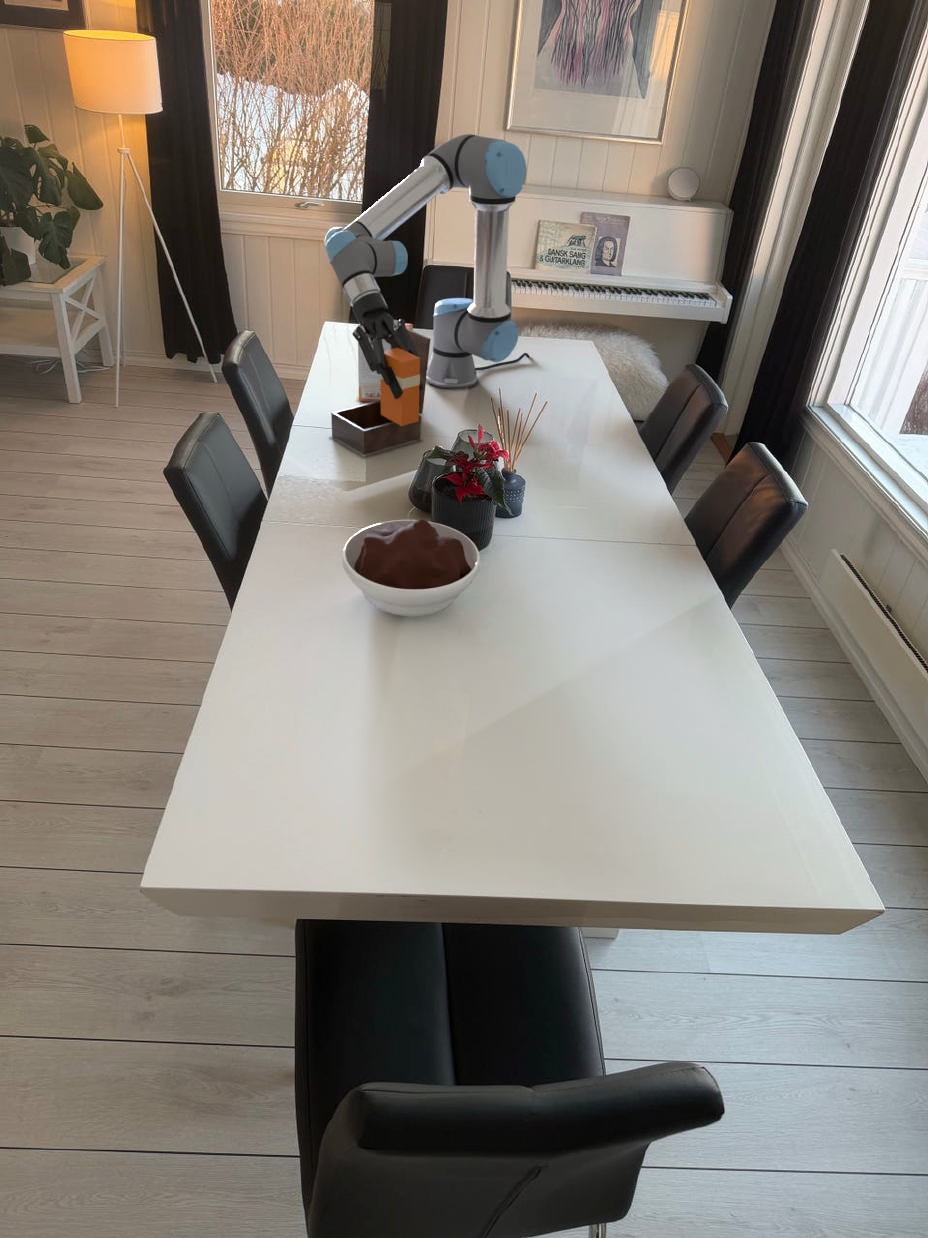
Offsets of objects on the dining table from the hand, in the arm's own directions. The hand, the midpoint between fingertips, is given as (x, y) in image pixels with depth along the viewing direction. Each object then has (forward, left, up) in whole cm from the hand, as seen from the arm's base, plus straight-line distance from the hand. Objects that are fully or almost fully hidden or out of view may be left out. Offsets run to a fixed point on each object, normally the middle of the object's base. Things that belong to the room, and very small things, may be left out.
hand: (409, 393), depth 192 cm
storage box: (-4, -17, -18) cm, 25 cm away
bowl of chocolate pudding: (+33, +43, -19) cm, 57 cm away
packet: (0, -4, -7) cm, 8 cm away
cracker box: (-22, -37, -19) cm, 47 cm away
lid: (-13, -17, -2) cm, 21 cm away
